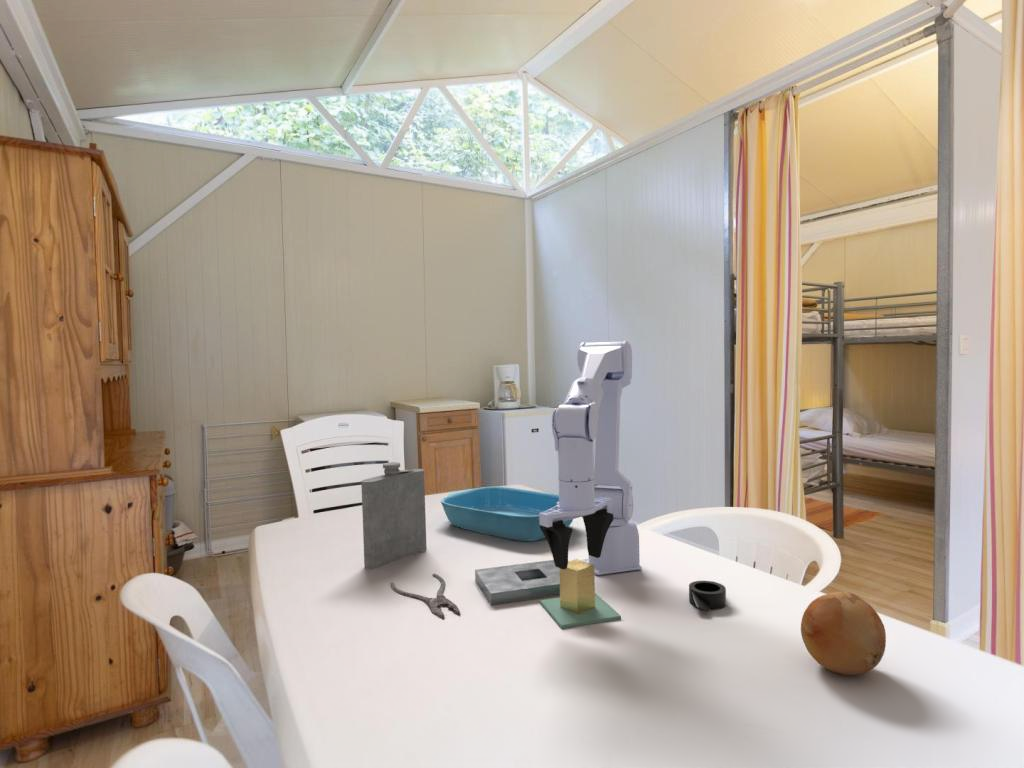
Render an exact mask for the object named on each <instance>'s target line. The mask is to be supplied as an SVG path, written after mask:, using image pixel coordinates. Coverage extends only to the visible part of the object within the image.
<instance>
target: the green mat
mask: <svg viewBox="0 0 1024 768" xmlns="http://www.w3.org/2000/svg"><path fill="white" fill-rule="evenodd" d="M539 604H540V605H541V606H542V607H543V609H545V611H546V612H547V613H548V615H549V616H550V617H551V618H552V619H553V620H554V622H555V623H556V625H558V626H559V628H560V629H566V628H572V627H578V626H585V625H592V624H596V623H597V624H598V623H604V622H605V623H606V622H610V621H616V620H621V619H622V615H621V614H620V613H619V612H618V611H616V610H615V609H614V608H613V607H611V605H610V604H608V603H607V602H606V601H605V600H603V598H602V597H601V596H599V595H598V593H596V592H595V608H592V609H590V610H588V611H585V612H583V613H580V614H576V613H573V612H571V611H569V610H566V609H564V608H562V607H560V596H559V597H552V598H546V599H545V598H544V599H540V600H539Z"/></svg>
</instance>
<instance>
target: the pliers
mask: <svg viewBox="0 0 1024 768" xmlns="http://www.w3.org/2000/svg"><path fill="white" fill-rule="evenodd" d="M432 577H434V578H436V579H437V580H438V581H439V582H440V587H439V588H438V590H437V592H436V597H427V596H423V595H420V594H416V593H412V592H407V591H404V590H401V589H399V588H398V587H397V586H396V585H395V583H394V582H393V581H391V583H390V587H391V589H392V590H393V591H394V592H395V593H396V594H399V595H402V596H405V597H409V598H411V599H416V600H419V601H421V602H423V603H425V604H426V605H427V606H428V608H429V609H430V611H431V614H434V615H435V616H437V617H439V618H440V619H442V620H445V614H444V612H443V610H442V607H443V608H445V607H447V610H449V611H452V612H453V613H455V614H456V615H458V616H461V611H460V608H458V606H457V604H455V603H454V602H453V601H452V600H450V599H449V598H447V597H446V596H445V595H444V592H445V589H446V581H445V579H444V578H442V577H441V576H440V575H438V574H437V573H432Z"/></svg>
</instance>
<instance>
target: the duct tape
mask: <svg viewBox="0 0 1024 768" xmlns="http://www.w3.org/2000/svg"><path fill="white" fill-rule="evenodd" d="M726 589H727V588H726V586H725V585H724V584H722V583H720V582H716V581H711V580H696V581H692V582H690V583H689V584H688V600H689V601H688V602H689V604H690V605H691V606H693V607H695V608H696V609H701V610H703V611H707V612H710V611H719V610H722V609H724V608H726V606H727V590H726Z"/></svg>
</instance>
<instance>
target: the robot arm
mask: <svg viewBox="0 0 1024 768" xmlns="http://www.w3.org/2000/svg"><path fill="white" fill-rule="evenodd" d="M632 350H633V349H632V345H631V343H630V342H629V341H628V340H623V341H600V342H586V341H583V342H580V344H579V345H578V349H577V356H576V357H577V358H576V359H577V366H578V370H579V371H580V377H579V378H576V379H575V380H574V381H572V384H571V385H570V388H569V390H568V393H567V395H566V397H565V399H564V401H563V403H562V404H559V406H558V407H555V408H554V410H553V411H552V416H551V417H552V418H551V430H552V436H553V438H554V441H553V442H554V449H555V451H556V452H557V468H558V469H557V472H558V473H557V475H558V477H557V478H558V495H559V502H557V506H555V507H553V508H551V509H549V510H547V511H544V512H541V513H539V521H540V529H541V531H542V532H543V534H544V536H545V537H546V538H545V539H546V541H547V544H548V546H549V549H550V551H551V556H552V560H554V563H555V567H558V568H561V569H567V566H568V561H569V546H570V540H571V536H572V533H573V528H572V527H570V526H568V527H565V524H563V522H564V521H568V520H571V519H573V520H574V519H578V518H582V520H583V523H584V526H585V527H584V529H585V533H586V546H587V553H588V558H586V559H581V561H584V562H587V563H590V564H593V565H594V575H596V576H602V575H608V574H610V575H611V574H616V573H623V572H624V573H625V572H630V571H631V572H632V571H637V570H638V571H639V570H642V566H641V565H640V564H641V563H640V533H639V529H638V526H637V524H636V523H635V521H634V520H632V518H633V513H634V495H633V484H632V482H631V480H630V479H628V477H626V475H625V476H624V474H622V473H621V472H620V471H619V458H620V457H619V456H620V455H619V454H620V453H619V451H620V424H621V422H620V421H621V398H622V393H623V389H624V388H626V387H627V386H629V385H631V380H632V378H633V375H632V374H633V351H632ZM594 440H595V447H594ZM595 486H606V487H595ZM607 486H609V487H607ZM610 487H619V488H610Z"/></svg>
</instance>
